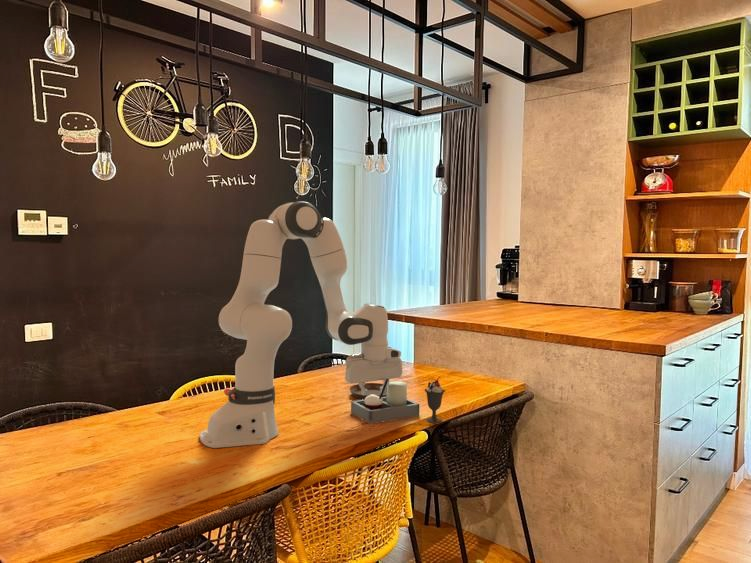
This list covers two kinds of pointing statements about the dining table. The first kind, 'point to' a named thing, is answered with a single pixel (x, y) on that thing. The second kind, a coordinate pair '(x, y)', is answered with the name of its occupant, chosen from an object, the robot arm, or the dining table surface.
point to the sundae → (434, 399)
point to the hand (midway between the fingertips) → (373, 393)
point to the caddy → (388, 406)
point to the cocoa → (374, 400)
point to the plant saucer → (372, 389)
